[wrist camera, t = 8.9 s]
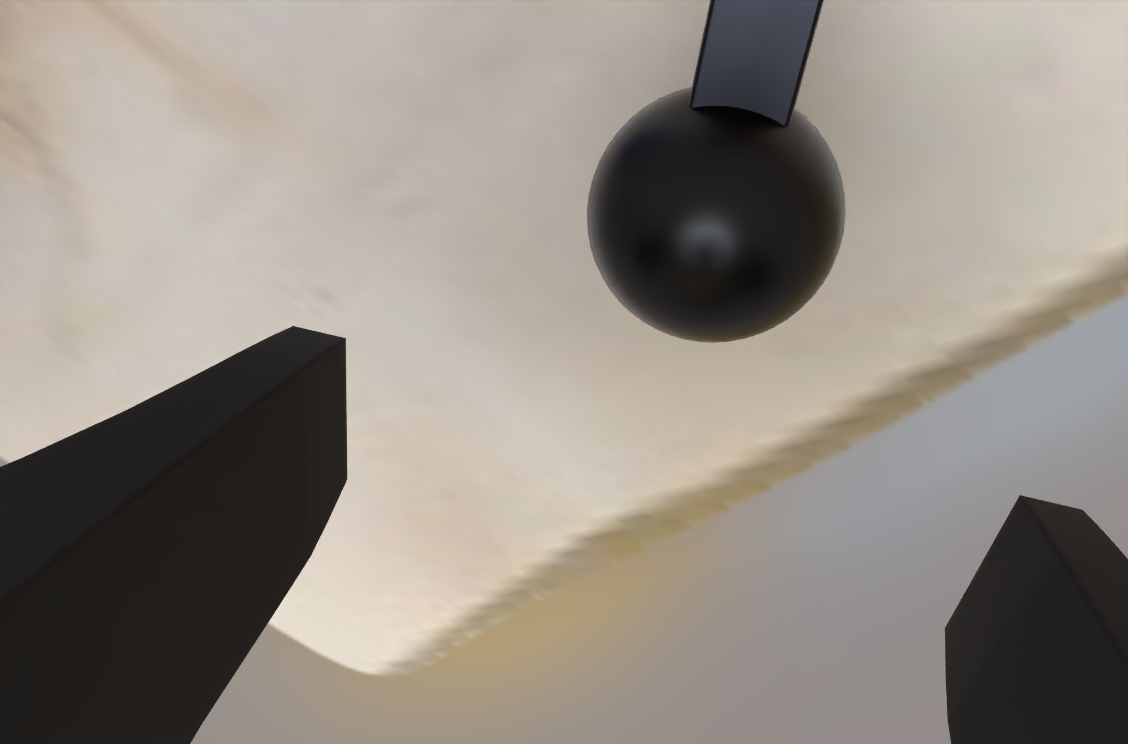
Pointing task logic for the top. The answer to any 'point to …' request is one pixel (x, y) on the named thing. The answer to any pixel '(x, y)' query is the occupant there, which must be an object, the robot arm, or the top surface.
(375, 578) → the top surface
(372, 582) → the top surface
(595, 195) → the lever
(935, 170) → the top surface
